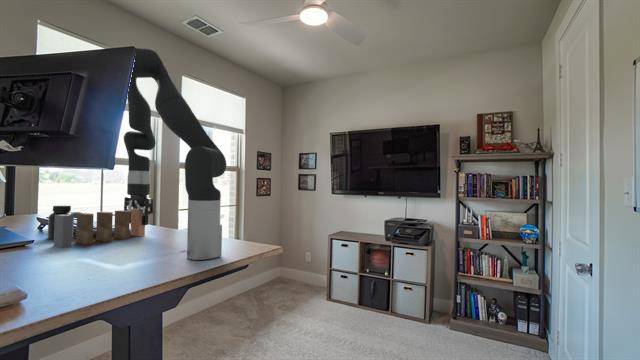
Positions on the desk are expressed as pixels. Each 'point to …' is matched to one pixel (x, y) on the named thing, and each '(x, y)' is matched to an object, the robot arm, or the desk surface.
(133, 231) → the domino
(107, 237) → the domino
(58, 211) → the supplement bottle
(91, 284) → the desk surface
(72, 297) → the desk surface
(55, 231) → the end domino
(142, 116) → the robot arm
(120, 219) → the domino
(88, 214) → the domino
